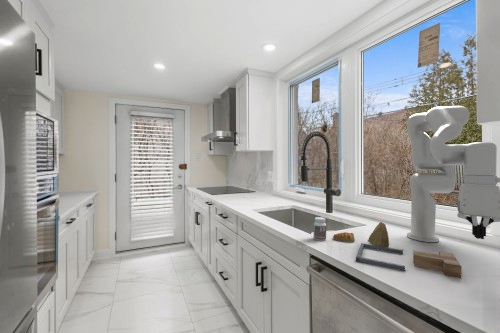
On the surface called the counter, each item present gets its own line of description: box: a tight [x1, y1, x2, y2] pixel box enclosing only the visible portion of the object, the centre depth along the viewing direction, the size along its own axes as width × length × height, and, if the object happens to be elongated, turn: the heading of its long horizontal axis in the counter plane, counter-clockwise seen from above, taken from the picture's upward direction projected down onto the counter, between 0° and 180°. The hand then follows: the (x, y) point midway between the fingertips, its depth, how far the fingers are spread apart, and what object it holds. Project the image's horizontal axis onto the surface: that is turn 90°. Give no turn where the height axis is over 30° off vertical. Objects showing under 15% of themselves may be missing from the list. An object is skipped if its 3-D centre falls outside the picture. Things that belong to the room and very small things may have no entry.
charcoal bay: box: [355, 242, 406, 272], centre depth 93 cm, size 18×15×2 cm
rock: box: [367, 221, 390, 248], centre depth 106 cm, size 11×9×10 cm
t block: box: [412, 250, 463, 279], centre depth 84 cm, size 12×12×4 cm
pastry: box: [332, 231, 356, 243], centre depth 113 cm, size 9×7×4 cm
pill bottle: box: [313, 216, 327, 242], centre depth 114 cm, size 6×6×10 cm
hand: (478, 237), depth 78 cm, fingers closed
